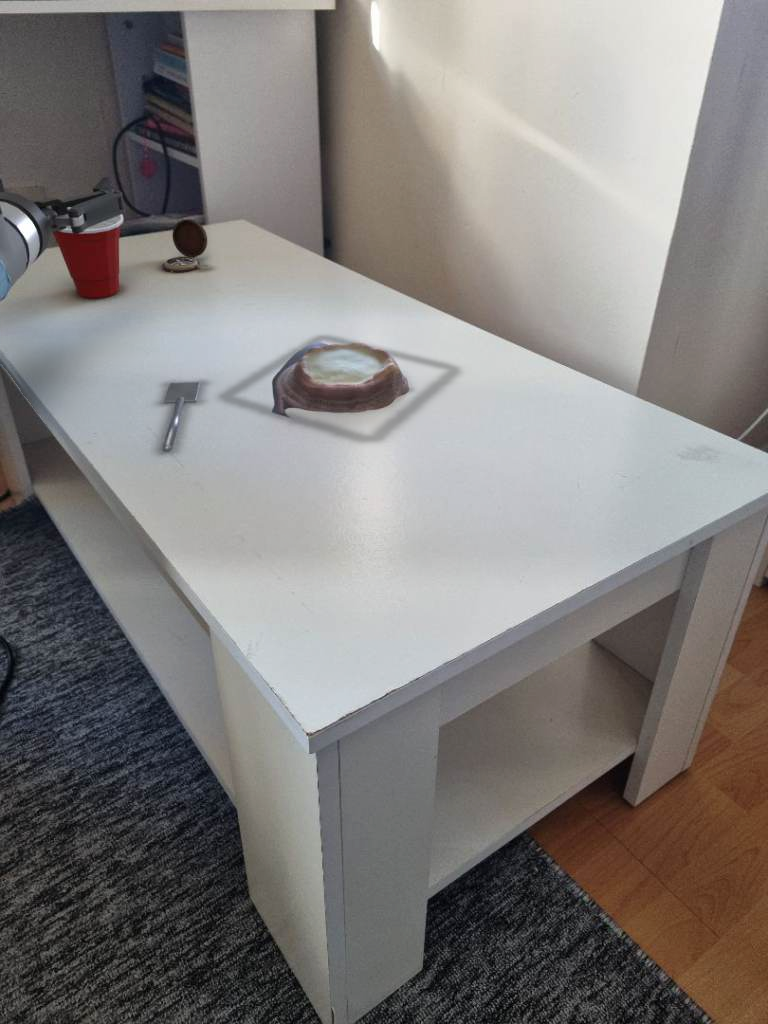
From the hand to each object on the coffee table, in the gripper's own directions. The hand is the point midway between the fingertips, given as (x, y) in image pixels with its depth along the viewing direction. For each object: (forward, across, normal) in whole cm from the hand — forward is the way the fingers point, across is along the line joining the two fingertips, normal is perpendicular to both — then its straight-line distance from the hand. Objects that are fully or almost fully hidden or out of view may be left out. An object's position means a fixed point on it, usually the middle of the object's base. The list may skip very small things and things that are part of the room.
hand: (55, 188), depth 104 cm
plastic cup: (+11, 0, -18) cm, 21 cm away
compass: (+23, +12, -18) cm, 32 cm away
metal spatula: (-30, +17, -18) cm, 39 cm away
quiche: (-23, +36, -18) cm, 47 cm away
